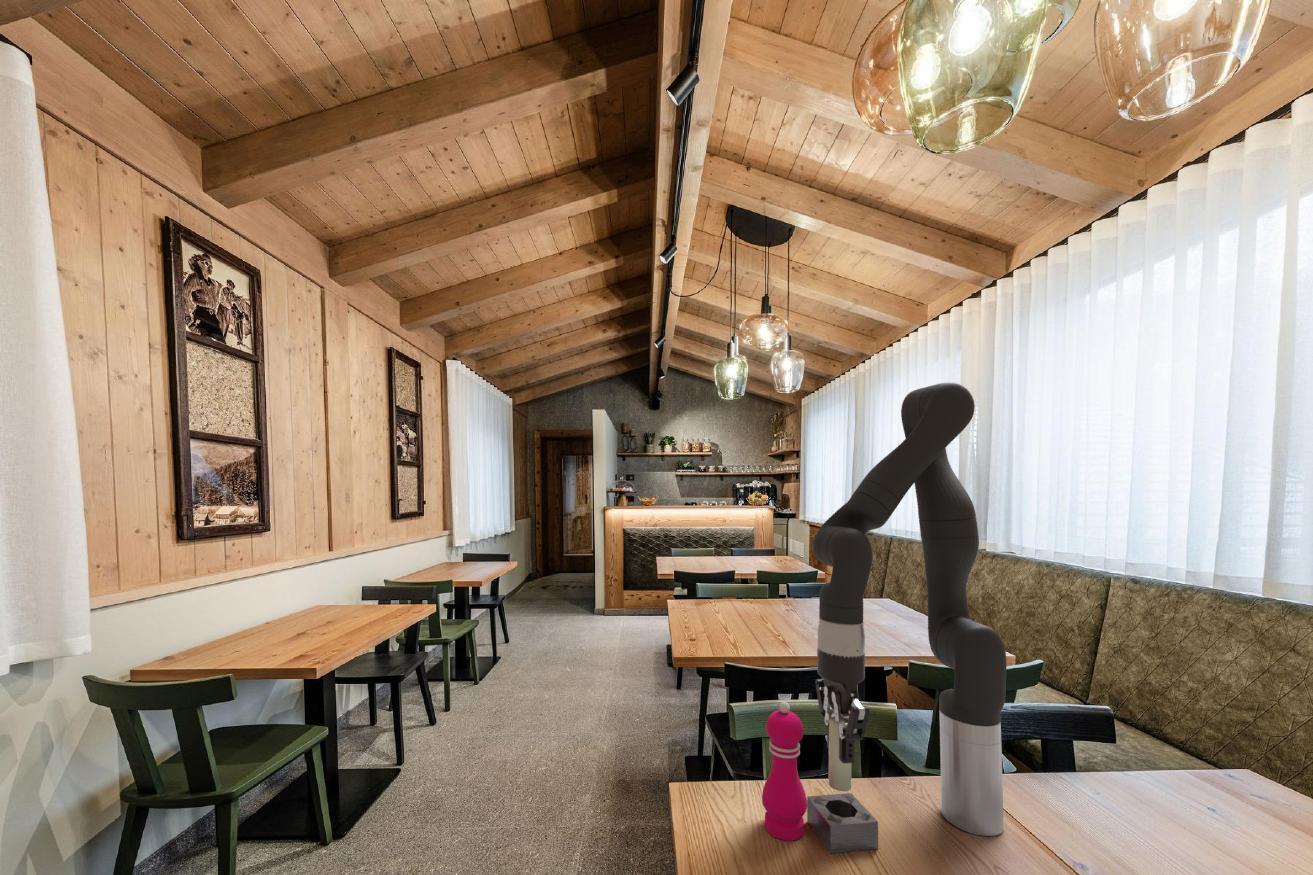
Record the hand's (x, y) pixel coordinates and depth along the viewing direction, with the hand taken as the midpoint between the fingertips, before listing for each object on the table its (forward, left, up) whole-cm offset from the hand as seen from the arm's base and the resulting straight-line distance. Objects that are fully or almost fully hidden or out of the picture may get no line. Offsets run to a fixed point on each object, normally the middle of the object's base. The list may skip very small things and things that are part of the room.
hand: (840, 754), depth 89 cm
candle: (0, 0, -5) cm, 5 cm away
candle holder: (0, 0, -12) cm, 12 cm away
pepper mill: (+5, -7, -12) cm, 15 cm away
